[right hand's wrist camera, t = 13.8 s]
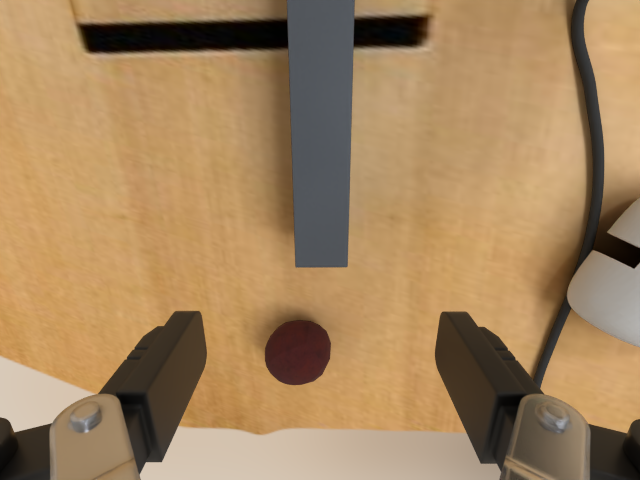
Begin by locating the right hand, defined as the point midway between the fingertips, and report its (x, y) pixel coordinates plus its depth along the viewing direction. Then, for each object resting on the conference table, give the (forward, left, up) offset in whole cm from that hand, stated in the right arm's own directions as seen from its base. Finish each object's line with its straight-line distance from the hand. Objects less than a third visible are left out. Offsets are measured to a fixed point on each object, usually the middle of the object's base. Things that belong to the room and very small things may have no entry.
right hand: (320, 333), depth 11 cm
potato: (-16, +10, -26) cm, 33 cm away
